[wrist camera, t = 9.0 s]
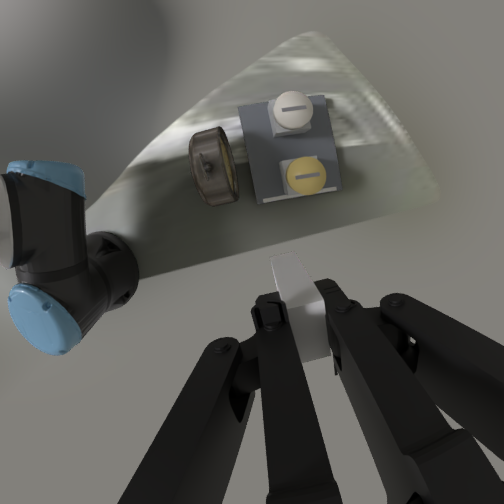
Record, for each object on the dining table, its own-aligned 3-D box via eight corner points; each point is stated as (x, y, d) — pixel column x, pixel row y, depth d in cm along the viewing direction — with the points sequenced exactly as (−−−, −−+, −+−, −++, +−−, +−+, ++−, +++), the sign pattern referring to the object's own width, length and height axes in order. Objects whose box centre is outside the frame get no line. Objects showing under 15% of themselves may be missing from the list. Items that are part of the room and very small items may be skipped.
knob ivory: (273, 137, 41) (278, 129, 33) (267, 107, 40) (270, 93, 32) (305, 132, 41) (317, 124, 33) (298, 102, 39) (308, 88, 31)
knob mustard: (284, 193, 43) (292, 198, 36) (278, 161, 42) (284, 159, 34) (315, 188, 43) (329, 191, 35) (310, 156, 42) (322, 154, 34)
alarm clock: (242, 196, 46) (237, 209, 30) (210, 203, 46) (189, 220, 31) (227, 132, 43) (215, 112, 27) (195, 140, 43) (167, 125, 28)
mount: (257, 203, 46) (258, 208, 40) (238, 109, 42) (235, 99, 35) (338, 189, 46) (352, 192, 39) (321, 97, 41) (332, 86, 34)
